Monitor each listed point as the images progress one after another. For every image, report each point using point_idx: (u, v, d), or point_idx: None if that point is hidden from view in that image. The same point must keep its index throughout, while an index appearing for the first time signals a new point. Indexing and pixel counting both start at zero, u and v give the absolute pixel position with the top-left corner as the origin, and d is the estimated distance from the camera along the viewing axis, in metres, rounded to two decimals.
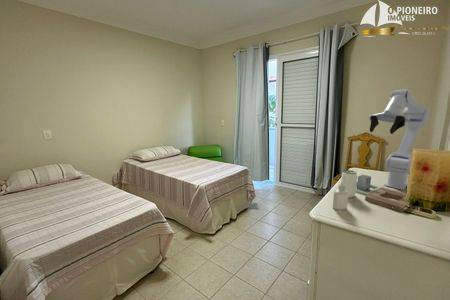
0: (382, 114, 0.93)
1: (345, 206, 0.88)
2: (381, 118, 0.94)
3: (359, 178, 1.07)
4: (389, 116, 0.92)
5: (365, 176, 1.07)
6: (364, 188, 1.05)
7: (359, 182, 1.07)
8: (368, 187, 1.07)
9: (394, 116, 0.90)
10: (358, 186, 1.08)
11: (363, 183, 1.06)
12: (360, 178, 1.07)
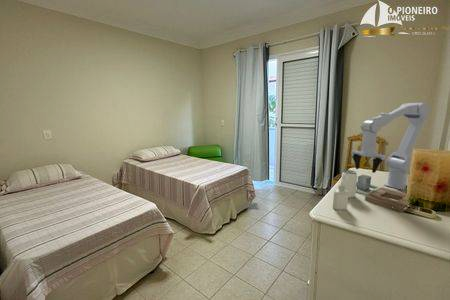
0: (361, 154, 1.05)
1: (345, 206, 0.88)
2: (361, 155, 1.07)
3: (359, 178, 1.07)
4: None
5: (365, 176, 1.07)
6: (364, 188, 1.05)
7: (359, 182, 1.07)
8: (368, 187, 1.07)
9: (371, 156, 1.02)
10: (358, 186, 1.08)
11: (363, 183, 1.06)
12: (360, 178, 1.07)
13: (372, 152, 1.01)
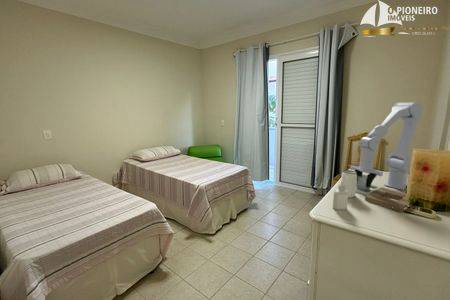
0: None
1: (345, 206, 0.88)
2: (360, 170, 1.08)
3: (359, 178, 1.07)
4: None
5: (365, 176, 1.07)
6: (364, 188, 1.05)
7: (359, 182, 1.07)
8: None
9: (369, 172, 1.04)
10: (358, 186, 1.08)
11: (363, 183, 1.06)
12: (360, 178, 1.06)
13: (370, 168, 1.03)
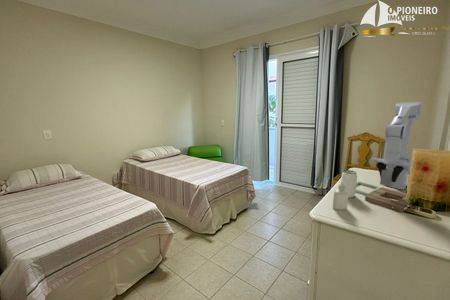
0: None
1: (345, 206, 0.88)
2: (384, 163, 0.96)
3: (383, 172, 0.95)
4: None
5: (390, 169, 0.95)
6: (389, 183, 0.93)
7: (383, 176, 0.95)
8: (393, 182, 0.94)
9: (396, 164, 0.91)
10: (382, 181, 0.95)
11: (388, 178, 0.93)
12: (384, 171, 0.94)
13: (397, 160, 0.91)
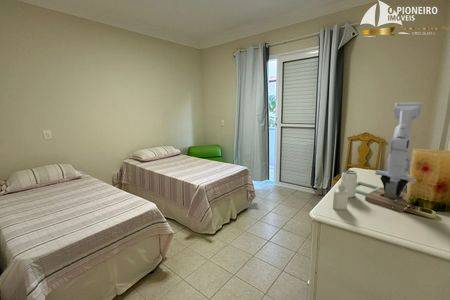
0: None
1: (345, 206, 0.88)
2: (388, 176, 0.95)
3: (387, 185, 0.93)
4: None
5: (394, 182, 0.94)
6: (393, 197, 0.92)
7: (387, 189, 0.94)
8: None
9: (400, 178, 0.90)
10: (386, 194, 0.94)
11: (392, 191, 0.92)
12: (388, 185, 0.93)
13: (401, 174, 0.90)
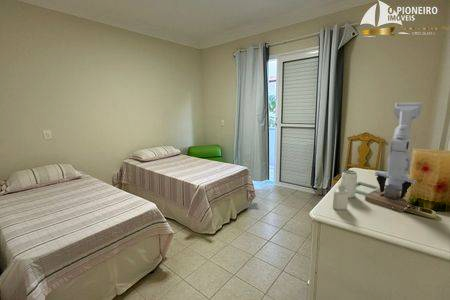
0: None
1: (345, 206, 0.88)
2: (387, 177, 0.95)
3: (387, 188, 0.94)
4: None
5: (394, 185, 0.94)
6: None
7: (387, 193, 0.94)
8: (397, 198, 0.93)
9: None
10: (385, 197, 0.95)
11: (392, 194, 0.92)
12: (388, 188, 0.93)
13: (401, 175, 0.90)
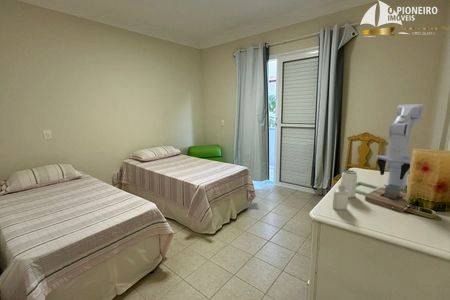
0: (387, 159, 0.98)
1: (345, 206, 0.88)
2: (387, 160, 0.99)
3: (387, 188, 0.94)
4: None
5: (394, 185, 0.94)
6: None
7: (387, 193, 0.94)
8: (397, 198, 0.93)
9: (399, 161, 0.95)
10: (385, 197, 0.95)
11: (392, 194, 0.92)
12: (388, 188, 0.93)
13: (400, 157, 0.94)
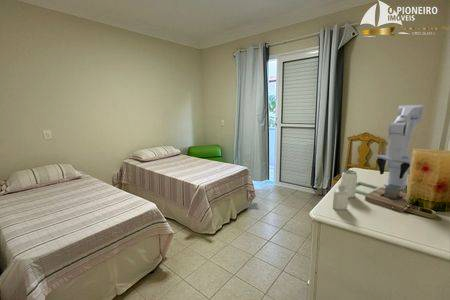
0: (386, 158, 0.99)
1: (345, 206, 0.88)
2: (387, 159, 1.00)
3: (387, 188, 0.94)
4: None
5: (394, 185, 0.94)
6: None
7: (387, 193, 0.94)
8: (397, 198, 0.93)
9: (398, 160, 0.96)
10: (385, 197, 0.95)
11: (392, 194, 0.92)
12: (388, 188, 0.93)
13: (399, 157, 0.95)
